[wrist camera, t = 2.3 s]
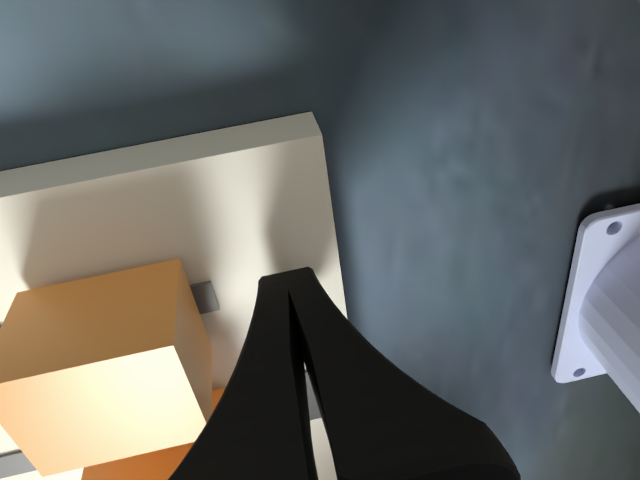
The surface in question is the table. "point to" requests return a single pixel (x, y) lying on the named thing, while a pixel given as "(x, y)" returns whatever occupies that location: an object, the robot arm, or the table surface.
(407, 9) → the table surface
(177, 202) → the switch board
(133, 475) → the tab middle
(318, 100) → the table surface
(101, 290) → the orange block
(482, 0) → the table surface
